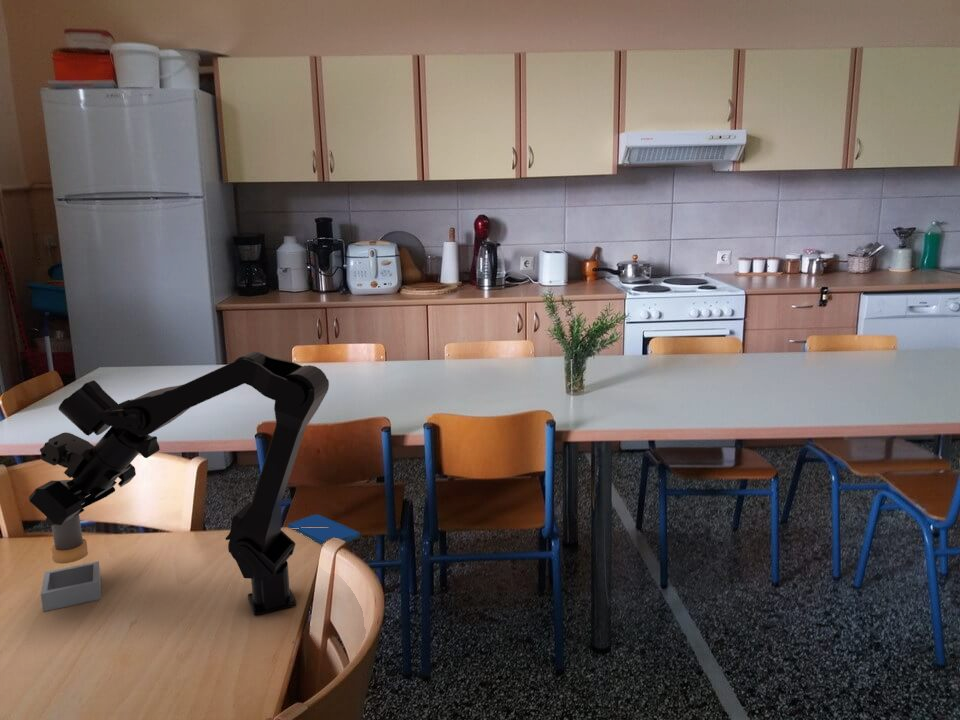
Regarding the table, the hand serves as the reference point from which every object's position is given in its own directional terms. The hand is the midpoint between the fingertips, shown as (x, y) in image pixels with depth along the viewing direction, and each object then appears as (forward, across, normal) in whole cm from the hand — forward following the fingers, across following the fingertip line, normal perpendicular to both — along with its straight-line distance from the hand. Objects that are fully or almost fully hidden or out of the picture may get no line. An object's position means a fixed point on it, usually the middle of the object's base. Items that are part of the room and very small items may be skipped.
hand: (57, 518), depth 119 cm
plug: (+4, 0, +6) cm, 7 cm away
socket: (+8, +1, +10) cm, 13 cm away
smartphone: (-15, -26, +34) cm, 45 cm away
